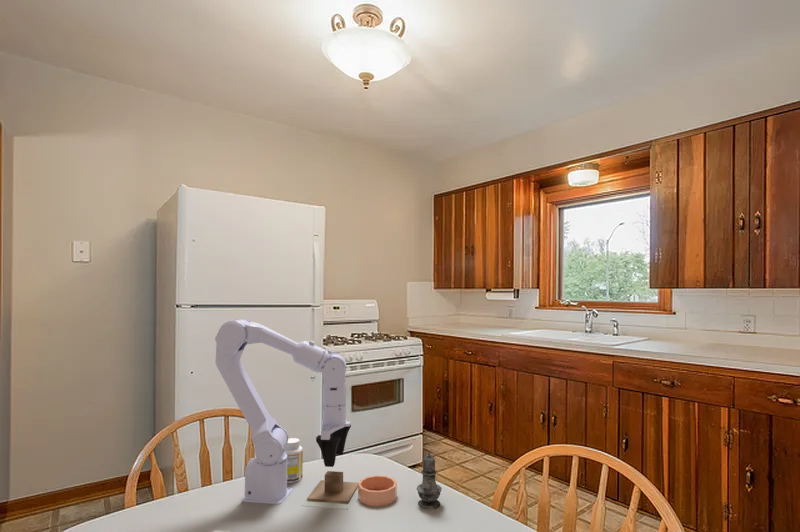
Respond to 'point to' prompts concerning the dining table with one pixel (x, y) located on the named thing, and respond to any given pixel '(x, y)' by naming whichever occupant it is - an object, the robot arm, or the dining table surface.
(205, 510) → the dining table surface
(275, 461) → the robot arm
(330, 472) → the walnut lid
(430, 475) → the salt shaker
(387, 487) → the terracotta bowl
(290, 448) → the supplement bottle
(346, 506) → the sage rubber mat
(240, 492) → the dining table surface
